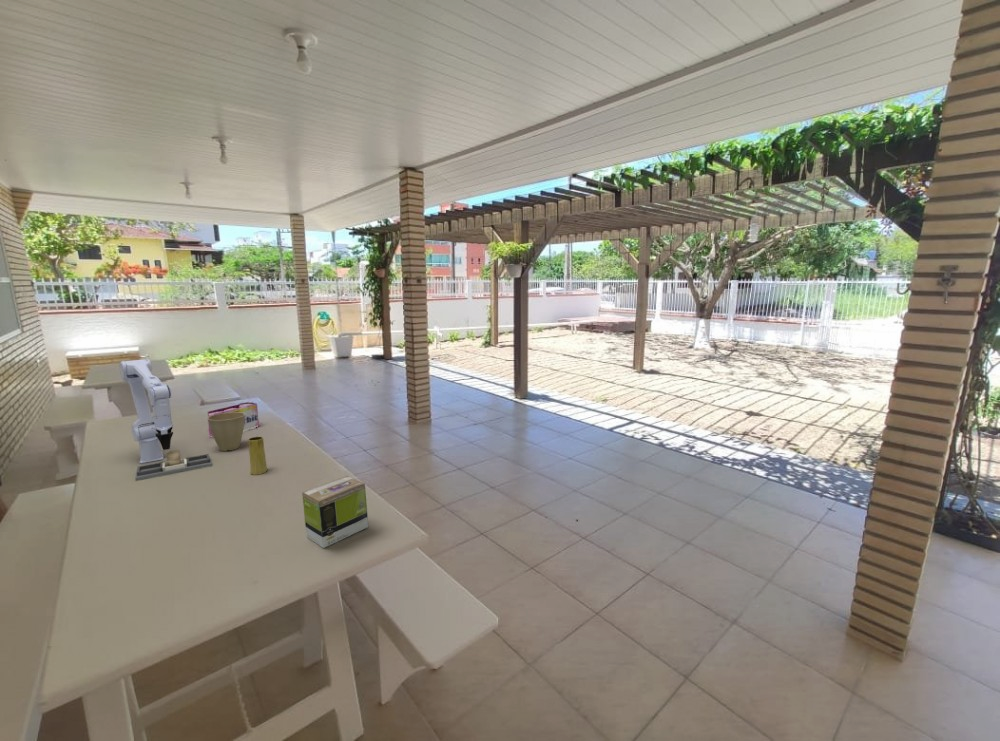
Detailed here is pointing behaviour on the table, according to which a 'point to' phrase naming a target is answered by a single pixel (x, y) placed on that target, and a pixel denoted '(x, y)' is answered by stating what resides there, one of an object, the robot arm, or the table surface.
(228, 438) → the plant pot
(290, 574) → the table surface
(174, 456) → the beech pin
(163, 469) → the gray compartment tray
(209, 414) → the gum box
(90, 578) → the table surface
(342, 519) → the tea box
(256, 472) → the vase
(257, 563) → the table surface
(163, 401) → the robot arm
